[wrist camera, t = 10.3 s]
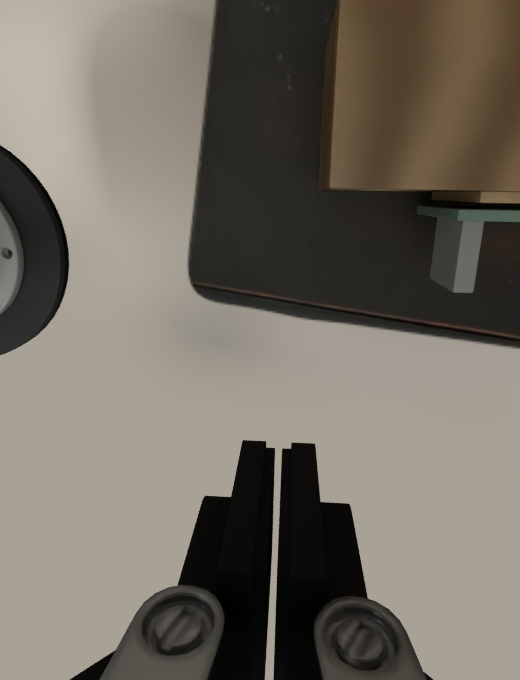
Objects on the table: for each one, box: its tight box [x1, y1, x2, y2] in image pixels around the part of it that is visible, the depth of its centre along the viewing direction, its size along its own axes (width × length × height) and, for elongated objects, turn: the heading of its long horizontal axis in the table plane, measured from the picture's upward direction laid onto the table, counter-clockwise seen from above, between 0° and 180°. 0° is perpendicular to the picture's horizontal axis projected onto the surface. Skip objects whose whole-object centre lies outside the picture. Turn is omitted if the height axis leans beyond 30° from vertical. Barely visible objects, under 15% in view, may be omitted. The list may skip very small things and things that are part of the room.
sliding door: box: [416, 205, 520, 293], centre depth 30 cm, size 8×5×9 cm, turn 89°
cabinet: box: [318, 0, 520, 203], centre depth 27 cm, size 16×10×11 cm, turn 89°
